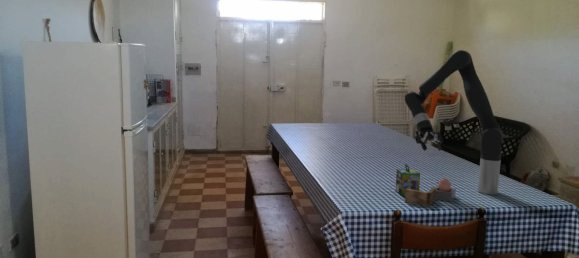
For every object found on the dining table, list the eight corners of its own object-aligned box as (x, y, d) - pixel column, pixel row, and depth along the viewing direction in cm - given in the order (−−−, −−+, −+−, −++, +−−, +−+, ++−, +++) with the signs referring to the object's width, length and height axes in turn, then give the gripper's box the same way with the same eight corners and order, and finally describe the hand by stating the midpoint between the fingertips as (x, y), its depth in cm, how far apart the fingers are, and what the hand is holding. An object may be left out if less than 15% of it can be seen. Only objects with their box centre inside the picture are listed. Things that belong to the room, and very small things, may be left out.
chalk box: (419, 196, 208) (421, 166, 206) (401, 196, 208) (402, 166, 206) (412, 190, 218) (414, 162, 215) (394, 191, 217) (396, 162, 215)
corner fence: (435, 200, 203) (436, 187, 202) (429, 206, 193) (430, 193, 192) (411, 196, 209) (412, 184, 208) (404, 201, 199) (405, 189, 198)
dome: (451, 191, 208) (452, 178, 207) (448, 193, 203) (449, 180, 202) (439, 189, 211) (440, 176, 210) (436, 191, 206) (437, 178, 205)
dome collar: (455, 196, 209) (455, 188, 208) (451, 201, 201) (452, 193, 201) (436, 193, 213) (436, 185, 213) (431, 198, 206) (432, 190, 205)
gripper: (414, 119, 220) (423, 145, 211) (438, 119, 223) (449, 145, 214) (407, 127, 226) (417, 153, 217) (431, 127, 229) (441, 153, 220)
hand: (433, 149), depth 215 cm, fingers open, 8 cm apart
